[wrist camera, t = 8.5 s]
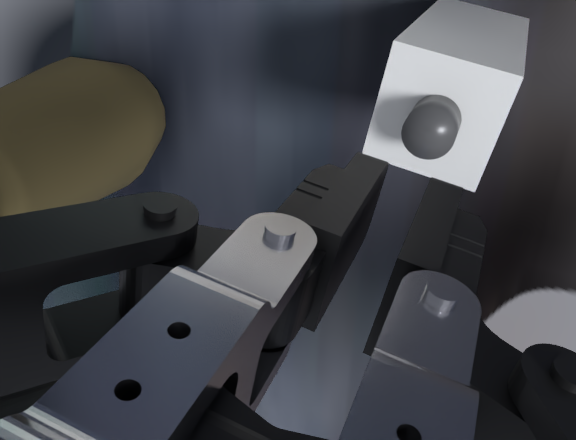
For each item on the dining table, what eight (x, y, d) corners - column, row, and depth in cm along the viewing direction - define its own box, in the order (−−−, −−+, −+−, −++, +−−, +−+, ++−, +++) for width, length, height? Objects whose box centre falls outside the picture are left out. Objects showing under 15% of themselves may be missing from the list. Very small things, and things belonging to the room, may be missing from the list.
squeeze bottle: (191, 69, 32) (-95, 202, 18) (175, 184, 37) (-64, 365, 22) (77, 25, 34) (-272, 113, 19) (75, 140, 38) (-209, 282, 24)
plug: (529, 18, 25) (522, 91, 15) (495, 102, 27) (470, 212, 17) (442, -4, 25) (382, 50, 16) (416, 78, 28) (349, 171, 18)
